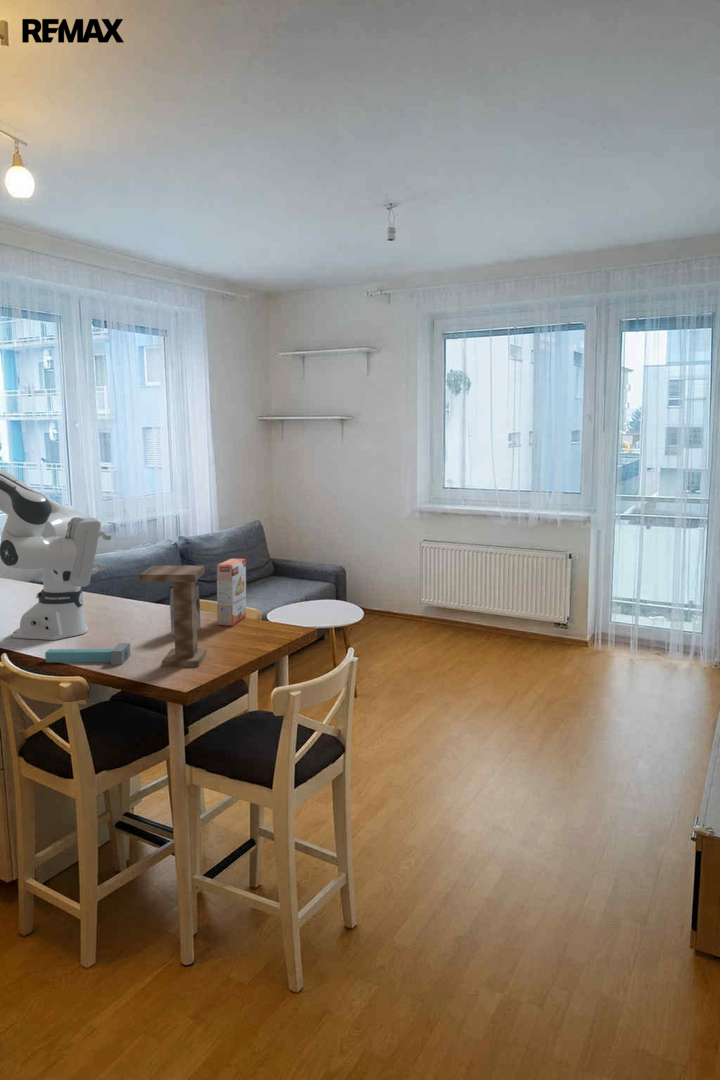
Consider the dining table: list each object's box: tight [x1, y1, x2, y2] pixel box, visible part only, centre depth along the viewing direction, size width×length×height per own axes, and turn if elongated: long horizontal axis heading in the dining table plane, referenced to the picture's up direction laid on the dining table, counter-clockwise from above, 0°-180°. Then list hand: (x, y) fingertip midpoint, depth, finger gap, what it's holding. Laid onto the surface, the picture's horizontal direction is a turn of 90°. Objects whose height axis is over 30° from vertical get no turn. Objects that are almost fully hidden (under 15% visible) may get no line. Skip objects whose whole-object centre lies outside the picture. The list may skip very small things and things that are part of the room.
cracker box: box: [216, 558, 247, 627], centre depth 249 cm, size 14×6×21 cm, turn 170°
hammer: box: [44, 642, 131, 666], centre depth 206 cm, size 22×8×4 cm, turn 92°
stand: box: [138, 565, 207, 668], centre depth 205 cm, size 15×14×26 cm
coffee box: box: [168, 581, 202, 636], centre depth 235 cm, size 9×6×16 cm
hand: (107, 551), depth 215 cm, fingers open, 8 cm apart
